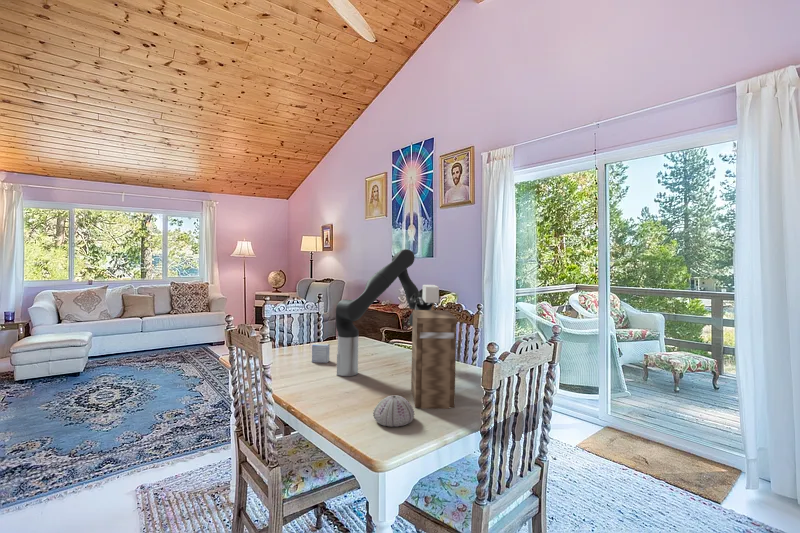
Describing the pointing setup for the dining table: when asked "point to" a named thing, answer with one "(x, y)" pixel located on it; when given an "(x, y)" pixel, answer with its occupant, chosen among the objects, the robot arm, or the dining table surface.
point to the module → (430, 294)
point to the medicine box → (320, 353)
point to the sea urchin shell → (393, 411)
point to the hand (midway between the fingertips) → (427, 291)
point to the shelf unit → (433, 359)
